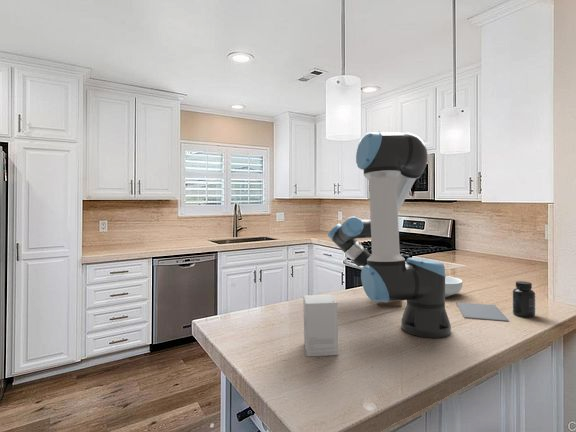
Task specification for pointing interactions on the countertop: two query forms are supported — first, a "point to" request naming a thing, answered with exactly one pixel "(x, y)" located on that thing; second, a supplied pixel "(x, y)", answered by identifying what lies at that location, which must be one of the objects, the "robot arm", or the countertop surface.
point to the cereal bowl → (452, 285)
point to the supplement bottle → (524, 300)
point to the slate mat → (481, 311)
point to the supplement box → (320, 325)
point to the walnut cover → (391, 303)
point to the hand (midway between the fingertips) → (397, 293)
